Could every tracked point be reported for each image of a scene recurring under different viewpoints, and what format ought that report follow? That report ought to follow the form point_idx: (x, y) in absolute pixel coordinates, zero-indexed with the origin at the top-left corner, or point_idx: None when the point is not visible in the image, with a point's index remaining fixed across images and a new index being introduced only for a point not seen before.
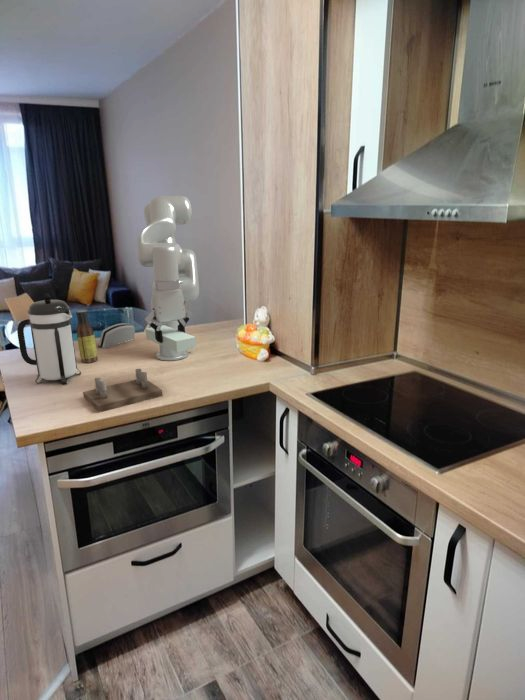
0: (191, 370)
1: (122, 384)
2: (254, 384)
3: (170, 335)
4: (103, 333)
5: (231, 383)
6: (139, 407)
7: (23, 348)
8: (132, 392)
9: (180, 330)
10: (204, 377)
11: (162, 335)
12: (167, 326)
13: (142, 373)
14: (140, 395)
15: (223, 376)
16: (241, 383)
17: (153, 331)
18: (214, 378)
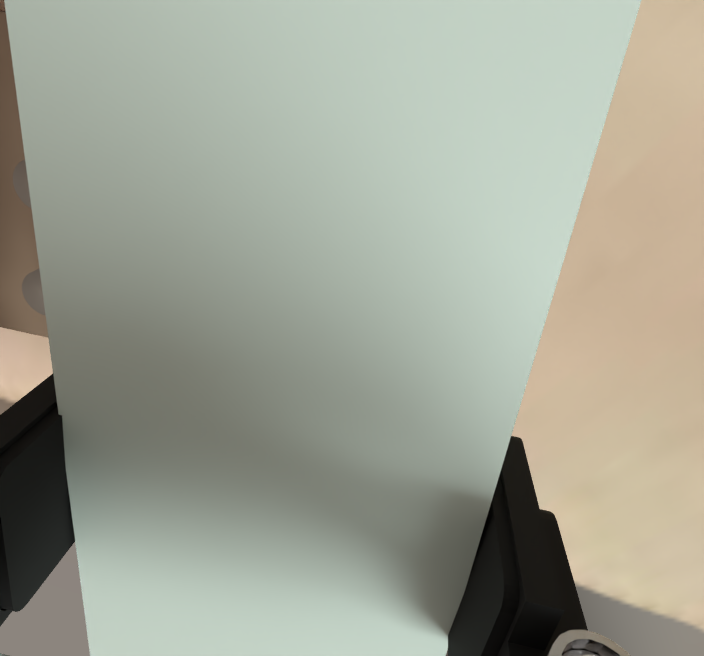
0: (694, 101)
1: (5, 58)
2: (664, 606)
3: (180, 623)
4: None
5: (605, 512)
6: (33, 375)
7: None
8: (18, 261)
9: (465, 606)
10: (603, 317)
11: (76, 543)
12: (620, 41)
13: (33, 296)
14: (44, 335)
15: (696, 404)
16: (638, 552)
17: (46, 202)
18: (625, 383)
